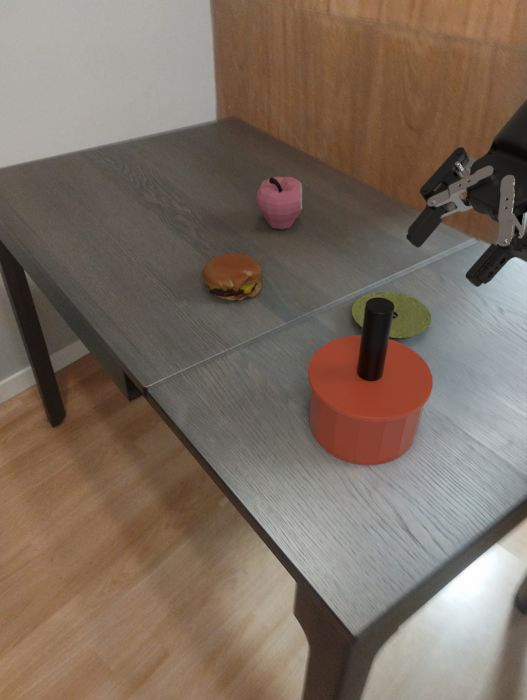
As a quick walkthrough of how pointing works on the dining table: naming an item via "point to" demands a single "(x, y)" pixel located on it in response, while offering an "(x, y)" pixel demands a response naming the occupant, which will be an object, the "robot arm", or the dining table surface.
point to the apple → (280, 201)
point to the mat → (398, 314)
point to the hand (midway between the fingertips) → (439, 261)
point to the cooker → (361, 435)
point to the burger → (232, 277)
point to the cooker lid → (371, 371)
